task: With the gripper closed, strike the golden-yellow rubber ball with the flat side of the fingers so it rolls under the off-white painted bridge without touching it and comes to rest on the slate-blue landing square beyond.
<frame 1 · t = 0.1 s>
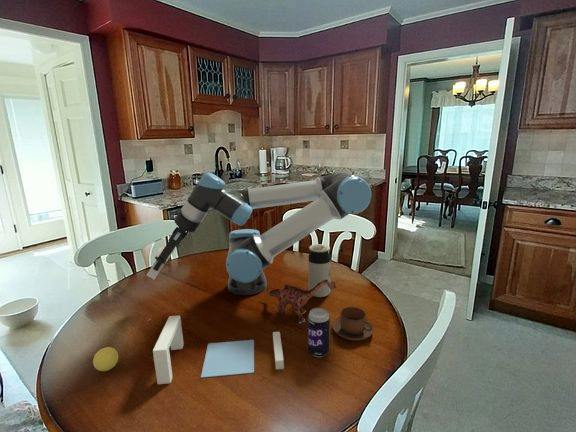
hand: (157, 268, 104), 15 cm above the table, tool tilted 35°, fingers open, 13 cm apart
ball: (105, 359, 79), on the table
toy dinosaur: (294, 314, 104), on the table
bridge: (171, 362, 82), on the table
cup and saucer: (352, 332, 94), on the table
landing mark: (229, 357, 83), on the table
travel mug: (319, 293, 117), on the table
stopper: (278, 353, 84), on the table
beverage can: (318, 352, 85), on the table
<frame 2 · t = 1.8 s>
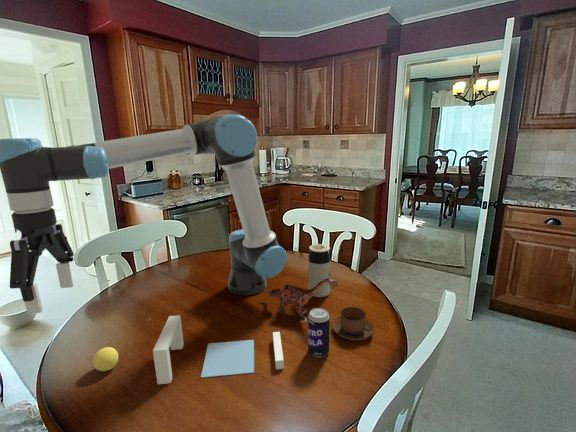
hand: (52, 298, 74), 20 cm above the table, tool pointing down, fingers open, 11 cm apart
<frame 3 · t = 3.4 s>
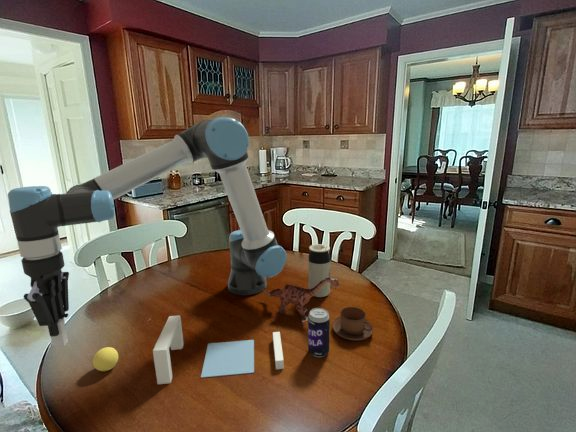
hand: (60, 344, 77), 8 cm above the table, tool pointing down, fingers closed
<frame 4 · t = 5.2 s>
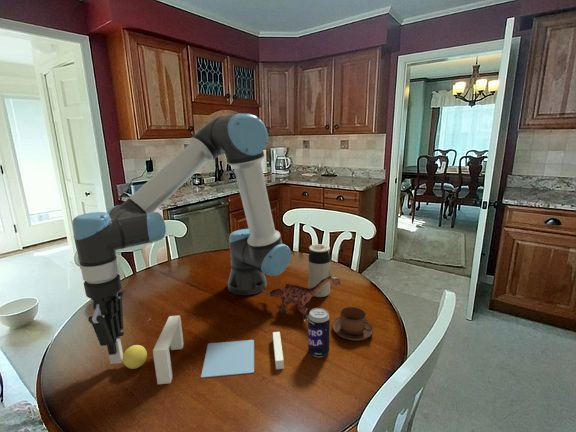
hand: (117, 361, 80), 2 cm above the table, tool pointing down, fingers closed
ball: (135, 356, 80), on the table
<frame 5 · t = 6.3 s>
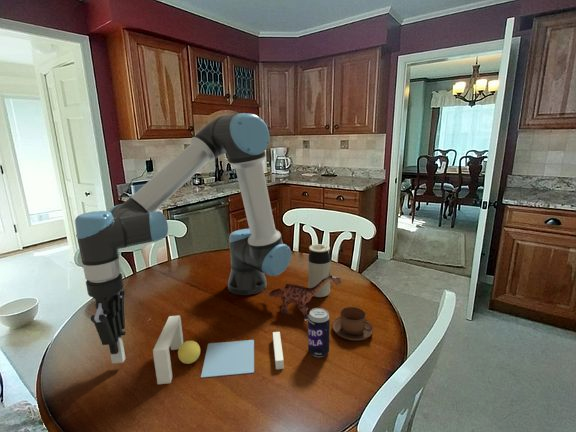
hand: (118, 360, 80), 2 cm above the table, tool pointing down, fingers closed
ball: (189, 352, 81), on the table
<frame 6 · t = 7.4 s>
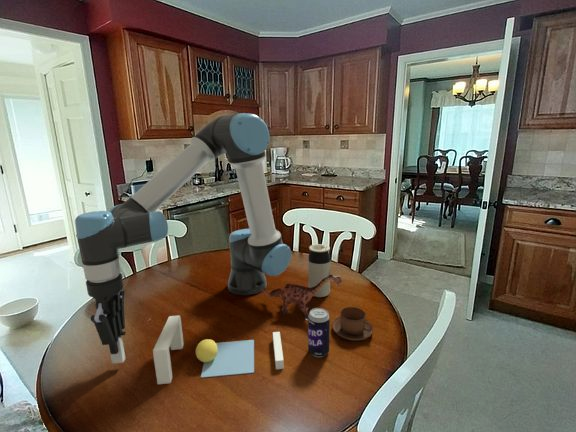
hand: (118, 360, 80), 2 cm above the table, tool pointing down, fingers closed
ball: (206, 350, 82), on the table
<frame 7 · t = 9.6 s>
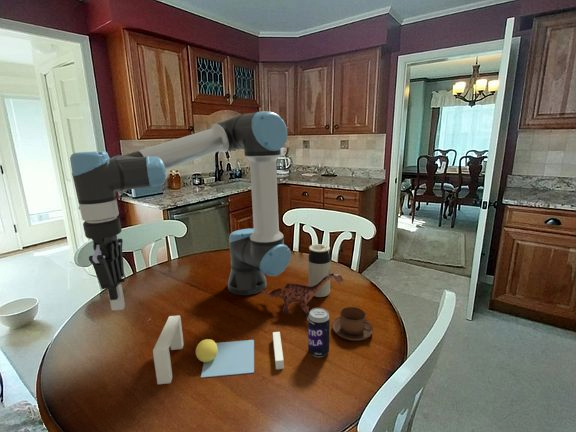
hand: (118, 308, 79), 16 cm above the table, tool pointing down, fingers closed
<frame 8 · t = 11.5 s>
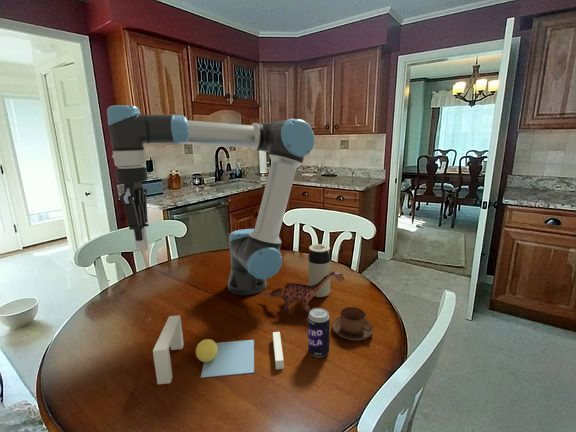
hand: (142, 250, 89), 26 cm above the table, tool pointing down, fingers closed
at the end: ball 5.7 cm from the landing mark (horizontally); ball never touched bridge; ball at rest at the end (0.0 cm/s) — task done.
